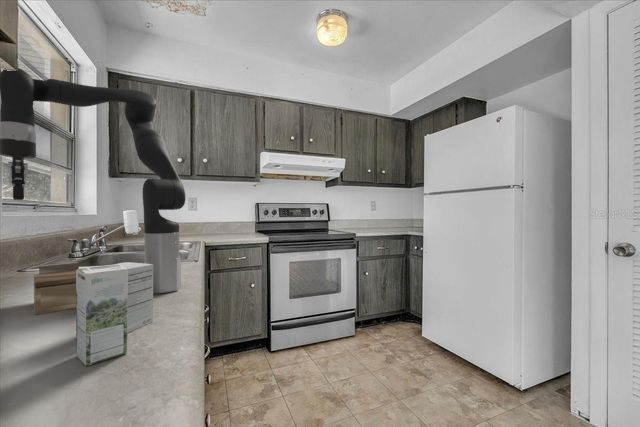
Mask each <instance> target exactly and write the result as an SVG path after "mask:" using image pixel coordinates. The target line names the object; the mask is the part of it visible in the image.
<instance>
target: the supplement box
mask: <svg viewBox="0 0 640 427" xmlns="http://www.w3.org/2000/svg"><path fill="white" fill-rule="evenodd" d="M117 264H118V265H121V266H123V267H125V268H126V269H127V270H128V291H127V334H128V333H130V332H132V331H135V330H137V329H140V328H142V327H143V326H144V327H145V326H146V325H149V324H151V323H153V322H154V293H153V264H145V262H144V263H143V262H129V261H128V262H119V263H117ZM112 265H114V264H112Z"/></svg>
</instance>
